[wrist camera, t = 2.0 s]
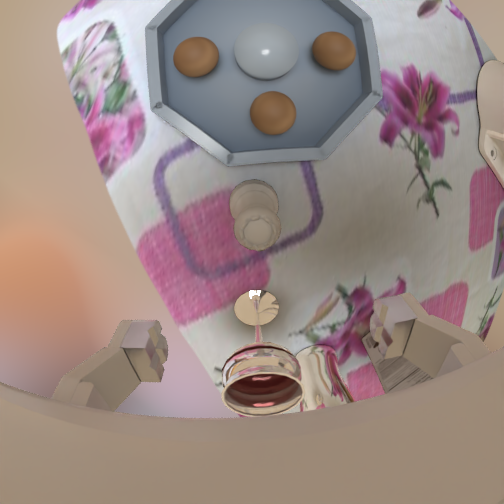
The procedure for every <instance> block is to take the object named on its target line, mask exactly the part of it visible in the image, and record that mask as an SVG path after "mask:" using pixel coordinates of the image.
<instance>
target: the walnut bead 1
mask: <svg viewBox="0 0 504 504" xmlns="http://www.w3.org/2000/svg"><path fill="white" fill-rule="evenodd" d="M218 60H219V51H218V48H217V46H216V45H215V44H214V43H213V42H212V41H211V40H209V39H207V38H205V37H191V38H188V39H186V40H184V41H182V42H181V43H180V44H179V45H178V46H177V48H176V49H175V51H174V55H173V62H174V65H175V67H176V69H177V70H178V71H179V72H180V73H181V74H183V75H185V76H188V77H201V76H204V75H206V74H208V73H210V72H211V71H212V70H213V69H214V68H215V66H216V65H217V63H218Z"/></svg>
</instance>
